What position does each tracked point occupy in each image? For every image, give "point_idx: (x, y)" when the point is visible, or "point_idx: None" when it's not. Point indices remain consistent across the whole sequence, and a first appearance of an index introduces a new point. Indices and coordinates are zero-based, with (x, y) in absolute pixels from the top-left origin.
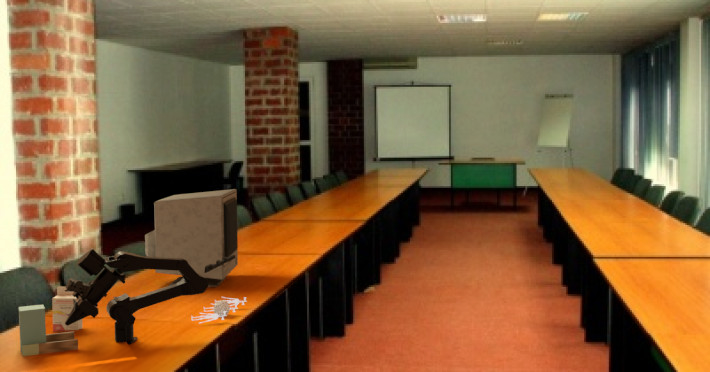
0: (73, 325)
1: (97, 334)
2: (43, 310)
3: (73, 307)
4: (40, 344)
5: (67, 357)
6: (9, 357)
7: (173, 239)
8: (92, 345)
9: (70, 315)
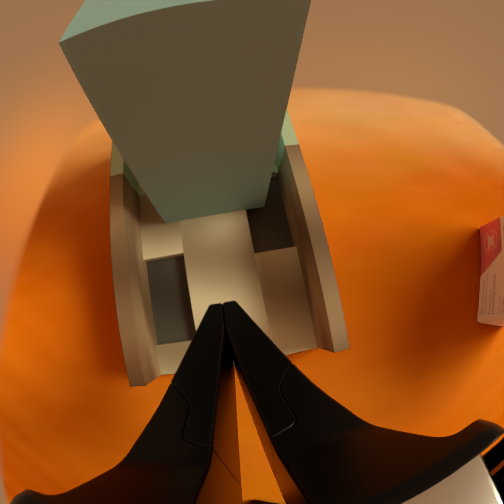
0: (497, 301)
1: (434, 411)
2: (69, 50)
3: (335, 426)
4: (111, 185)
5: (81, 324)
6: None
7: None
8: (256, 433)
9: (185, 372)
